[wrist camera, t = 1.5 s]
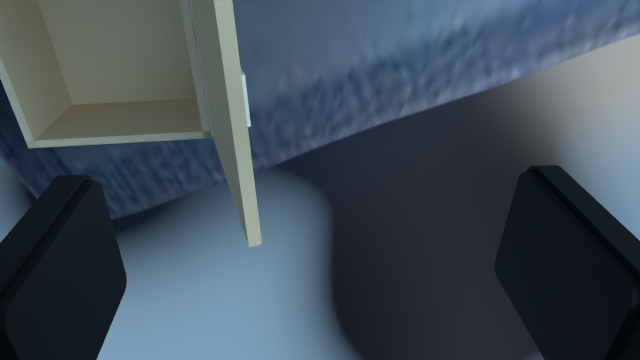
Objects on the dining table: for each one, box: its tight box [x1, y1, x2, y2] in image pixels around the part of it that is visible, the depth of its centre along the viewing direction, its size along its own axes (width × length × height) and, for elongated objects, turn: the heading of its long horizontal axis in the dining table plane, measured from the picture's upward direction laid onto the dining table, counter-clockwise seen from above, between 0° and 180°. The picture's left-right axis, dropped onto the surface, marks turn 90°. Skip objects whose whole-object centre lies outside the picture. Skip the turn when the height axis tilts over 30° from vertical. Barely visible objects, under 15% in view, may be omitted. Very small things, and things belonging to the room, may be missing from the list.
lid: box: [190, 0, 262, 247], centre depth 25 cm, size 14×16×1 cm
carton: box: [0, 0, 213, 148], centre depth 34 cm, size 14×16×8 cm
